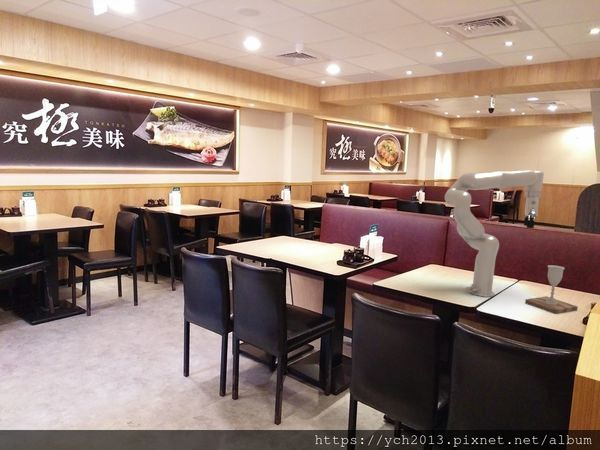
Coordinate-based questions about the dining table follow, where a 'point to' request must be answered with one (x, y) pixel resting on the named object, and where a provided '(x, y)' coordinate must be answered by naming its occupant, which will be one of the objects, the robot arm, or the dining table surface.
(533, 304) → the serving board
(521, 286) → the dining table surface
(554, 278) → the chalice
